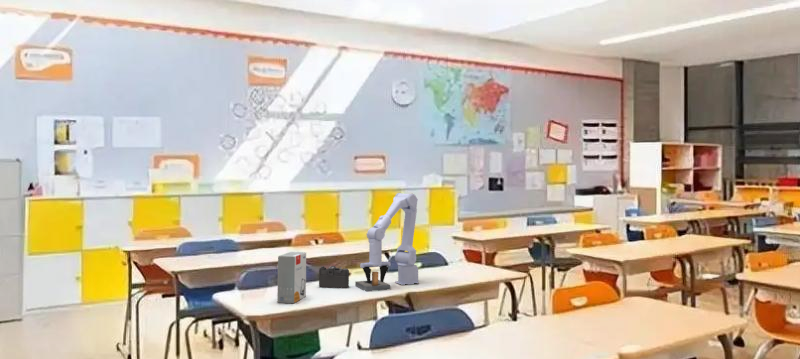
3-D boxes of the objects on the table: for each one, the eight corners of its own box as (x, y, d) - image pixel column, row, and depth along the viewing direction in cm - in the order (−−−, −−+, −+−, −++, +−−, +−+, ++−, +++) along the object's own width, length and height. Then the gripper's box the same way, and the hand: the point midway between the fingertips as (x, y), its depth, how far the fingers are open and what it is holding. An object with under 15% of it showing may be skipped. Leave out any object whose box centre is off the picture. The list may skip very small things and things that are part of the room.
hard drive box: (294, 304, 288) (294, 256, 288) (277, 303, 290) (276, 256, 289) (306, 296, 304) (306, 251, 303) (290, 295, 305) (290, 251, 304)
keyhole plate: (378, 284, 333) (378, 279, 333) (390, 289, 320) (390, 284, 320) (355, 286, 328) (355, 281, 328) (366, 291, 315) (366, 286, 315)
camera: (352, 284, 332) (352, 264, 332) (347, 289, 322) (347, 267, 321) (323, 283, 334) (323, 263, 334) (317, 288, 324) (317, 267, 323)
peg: (377, 288, 323) (377, 271, 323) (379, 289, 320) (379, 272, 320) (371, 288, 322) (371, 271, 322) (373, 289, 319) (373, 272, 319)
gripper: (386, 251, 327) (386, 279, 328) (357, 253, 321) (357, 281, 322) (392, 253, 321) (392, 282, 321) (363, 255, 315) (363, 284, 315)
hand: (375, 282), depth 321 cm, fingers open, 6 cm apart
